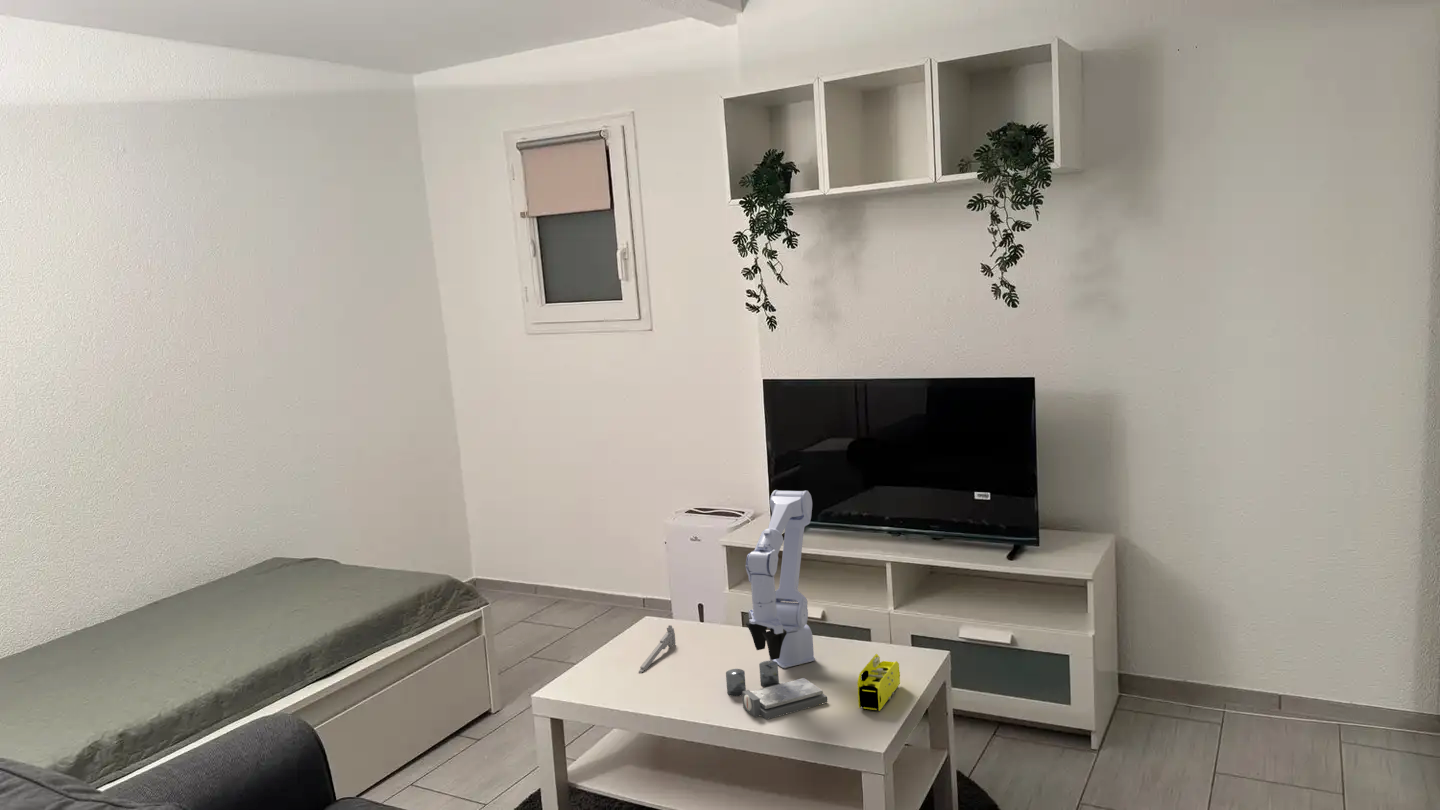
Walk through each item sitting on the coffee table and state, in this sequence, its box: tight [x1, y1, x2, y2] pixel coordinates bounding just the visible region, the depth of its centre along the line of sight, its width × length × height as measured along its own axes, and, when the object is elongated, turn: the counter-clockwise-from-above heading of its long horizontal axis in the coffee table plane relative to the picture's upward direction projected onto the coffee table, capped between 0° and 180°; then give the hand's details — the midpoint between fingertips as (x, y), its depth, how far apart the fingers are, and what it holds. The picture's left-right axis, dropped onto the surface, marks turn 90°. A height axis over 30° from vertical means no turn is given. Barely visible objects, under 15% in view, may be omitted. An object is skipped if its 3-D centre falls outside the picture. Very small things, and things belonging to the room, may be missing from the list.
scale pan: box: [750, 677, 824, 709], centre depth 243 cm, size 15×9×1 cm, turn 115°
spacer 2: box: [759, 660, 780, 688], centre depth 254 cm, size 4×4×5 cm
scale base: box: [741, 689, 828, 720], centre depth 242 cm, size 18×11×4 cm, turn 115°
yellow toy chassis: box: [857, 653, 901, 712], centre depth 241 cm, size 16×6×8 cm, turn 154°
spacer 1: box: [725, 668, 747, 697], centre depth 251 cm, size 4×4×5 cm
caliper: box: [638, 624, 677, 674], centre depth 276 cm, size 20×1×6 cm, turn 157°
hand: (767, 653), depth 254 cm, fingers open, 7 cm apart
